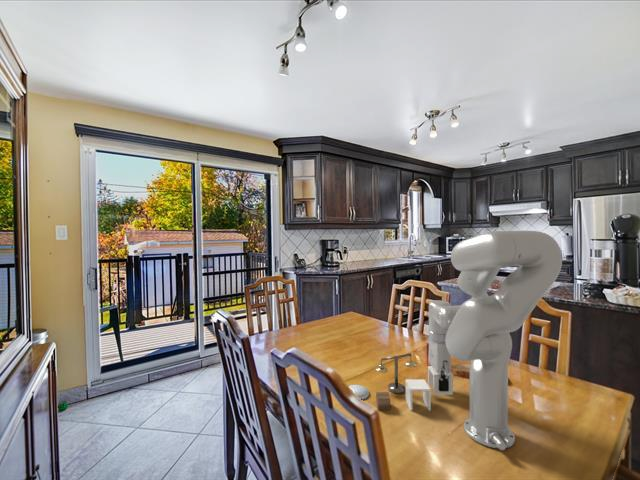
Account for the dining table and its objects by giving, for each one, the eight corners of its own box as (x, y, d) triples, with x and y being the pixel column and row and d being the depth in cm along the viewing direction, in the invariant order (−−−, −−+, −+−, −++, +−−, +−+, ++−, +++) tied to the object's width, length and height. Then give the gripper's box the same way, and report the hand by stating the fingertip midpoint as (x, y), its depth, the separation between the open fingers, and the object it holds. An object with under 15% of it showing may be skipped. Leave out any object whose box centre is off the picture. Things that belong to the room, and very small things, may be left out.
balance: (419, 393, 107) (419, 356, 106) (376, 393, 107) (376, 356, 107) (415, 385, 113) (414, 350, 112) (374, 385, 113) (374, 350, 113)
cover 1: (430, 411, 96) (430, 389, 96) (410, 410, 97) (410, 389, 96) (424, 399, 103) (424, 379, 103) (405, 399, 103) (405, 379, 103)
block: (390, 410, 97) (390, 398, 97) (378, 410, 97) (377, 398, 97) (388, 403, 101) (388, 391, 101) (376, 403, 101) (376, 391, 101)
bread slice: (443, 371, 125) (443, 362, 125) (476, 364, 131) (476, 355, 131) (479, 392, 108) (479, 381, 108) (515, 383, 114) (515, 373, 114)
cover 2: (434, 394, 103) (434, 374, 103) (428, 384, 110) (428, 365, 110) (453, 394, 103) (453, 374, 103) (446, 385, 110) (446, 366, 109)
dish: (370, 400, 103) (370, 397, 103) (344, 400, 103) (344, 396, 103) (367, 387, 112) (367, 383, 112) (343, 386, 112) (343, 383, 112)
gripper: (422, 328, 115) (422, 373, 115) (437, 345, 97) (437, 399, 98) (441, 328, 114) (441, 373, 115) (461, 345, 97) (461, 399, 98)
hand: (440, 385), depth 106 cm, fingers closed on cover 2, 6 cm apart
